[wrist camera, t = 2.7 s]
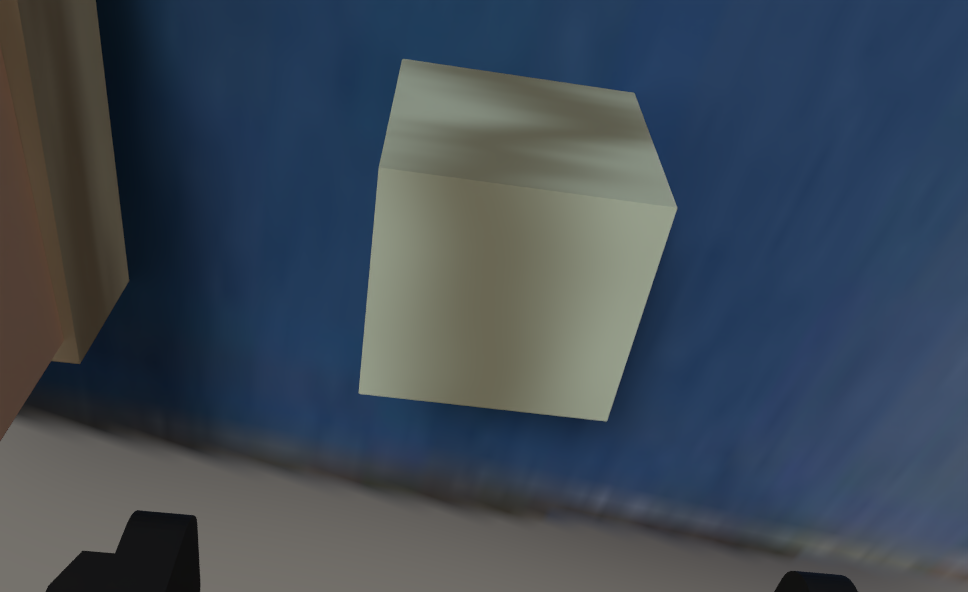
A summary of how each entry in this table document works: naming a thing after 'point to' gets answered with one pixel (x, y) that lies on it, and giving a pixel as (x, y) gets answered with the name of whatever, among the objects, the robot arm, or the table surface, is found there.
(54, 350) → the tower top block
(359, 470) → the table surface
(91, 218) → the tower base block
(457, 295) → the sage cube
